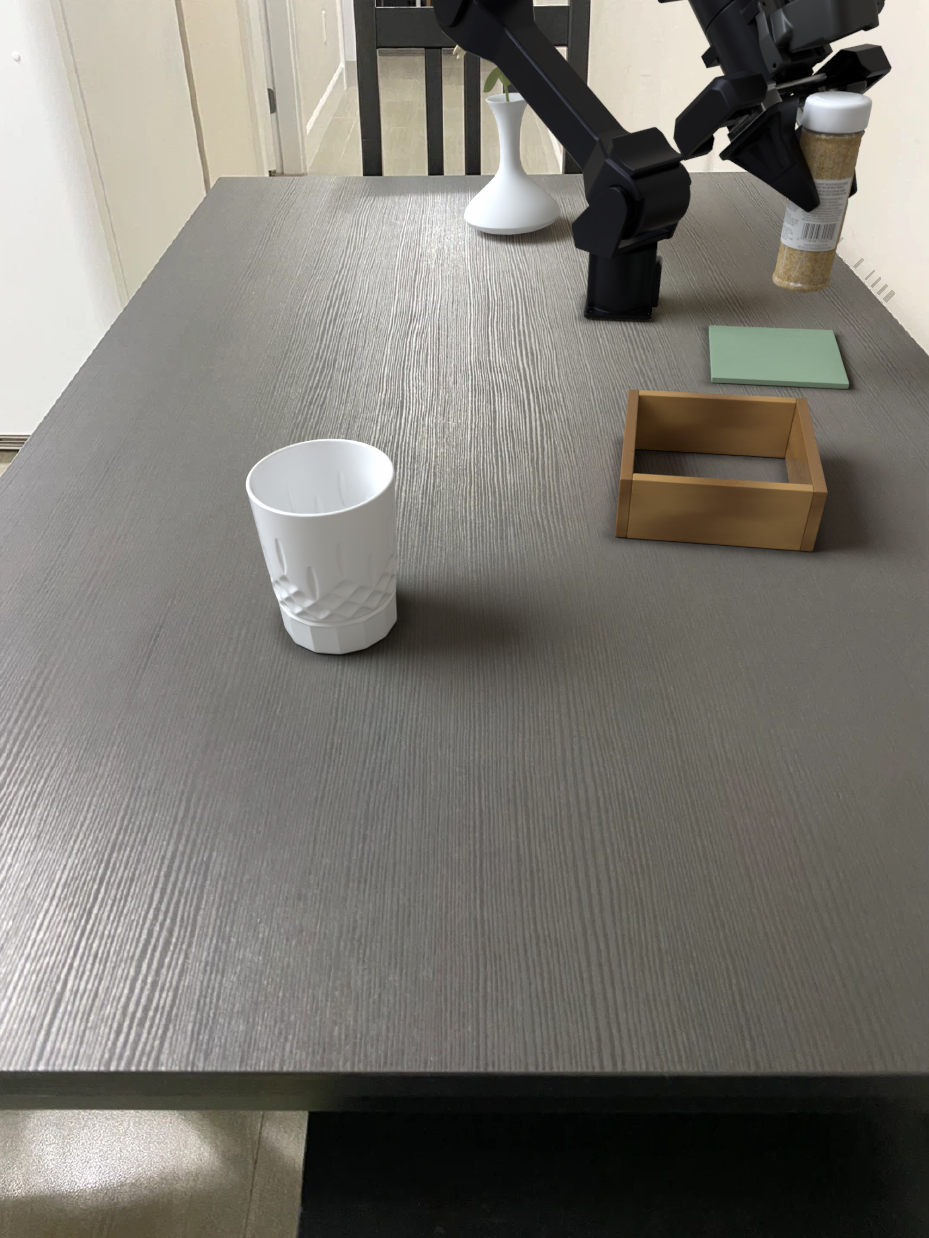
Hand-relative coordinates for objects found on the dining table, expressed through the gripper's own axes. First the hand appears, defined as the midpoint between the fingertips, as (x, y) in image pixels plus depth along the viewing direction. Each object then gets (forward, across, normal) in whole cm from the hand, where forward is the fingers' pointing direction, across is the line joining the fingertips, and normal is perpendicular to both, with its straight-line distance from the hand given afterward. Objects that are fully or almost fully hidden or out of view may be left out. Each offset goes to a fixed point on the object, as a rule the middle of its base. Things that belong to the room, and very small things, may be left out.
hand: (832, 202), depth 70 cm
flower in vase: (-22, +7, +43) cm, 48 cm away
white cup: (+12, -47, +8) cm, 49 cm away
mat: (+8, +2, +12) cm, 15 cm away
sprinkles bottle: (+4, 0, +6) cm, 7 cm away
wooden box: (+15, -19, +4) cm, 25 cm away
